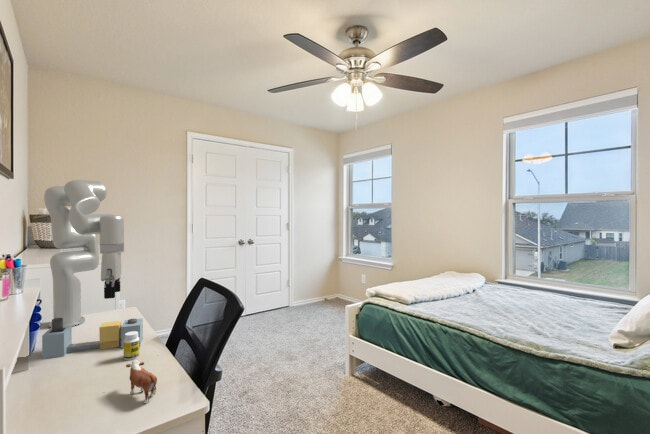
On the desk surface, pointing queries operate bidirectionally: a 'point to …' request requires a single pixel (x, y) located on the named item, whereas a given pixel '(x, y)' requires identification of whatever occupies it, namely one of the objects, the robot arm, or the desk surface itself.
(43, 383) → the desk surface
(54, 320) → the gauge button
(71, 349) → the rail
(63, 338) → the frame
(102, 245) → the robot arm
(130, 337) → the supplement bottle
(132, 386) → the bull figurine
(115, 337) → the block
